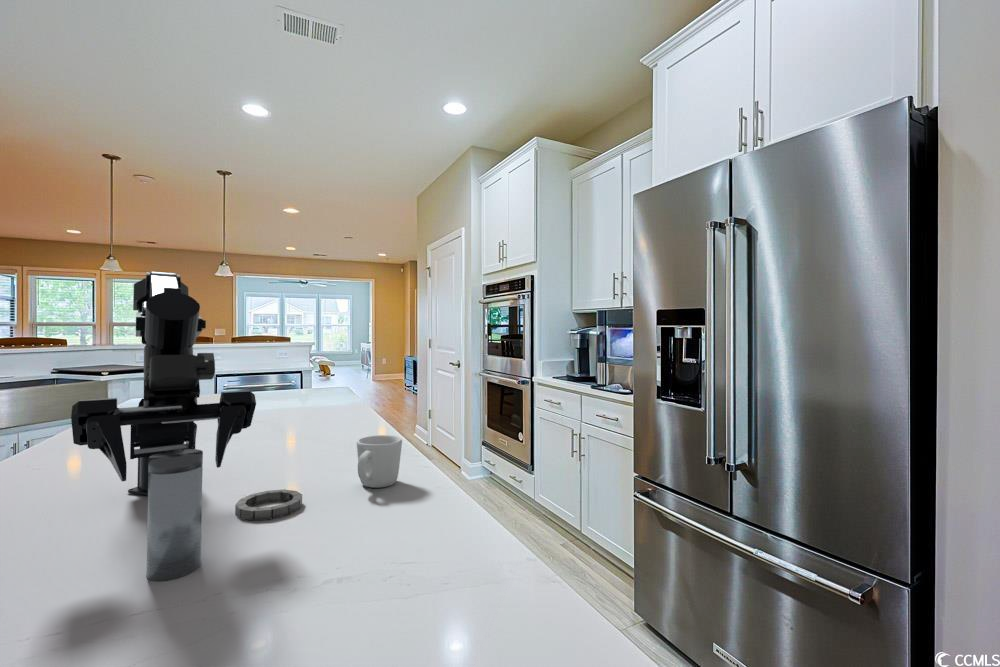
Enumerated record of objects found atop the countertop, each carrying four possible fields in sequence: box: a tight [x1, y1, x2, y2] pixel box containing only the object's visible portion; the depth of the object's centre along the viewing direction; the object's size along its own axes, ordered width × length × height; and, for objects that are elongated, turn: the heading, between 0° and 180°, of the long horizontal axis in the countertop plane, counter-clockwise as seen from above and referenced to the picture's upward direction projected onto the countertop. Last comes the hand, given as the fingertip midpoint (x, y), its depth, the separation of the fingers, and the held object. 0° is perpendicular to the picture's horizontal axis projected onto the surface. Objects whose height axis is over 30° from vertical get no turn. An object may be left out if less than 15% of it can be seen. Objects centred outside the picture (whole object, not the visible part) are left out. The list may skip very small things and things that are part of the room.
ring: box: [234, 489, 303, 522], centre depth 70 cm, size 9×9×1 cm
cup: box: [356, 434, 403, 489], centre depth 81 cm, size 11×8×8 cm
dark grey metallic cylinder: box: [146, 448, 204, 582], centre depth 52 cm, size 5×5×13 cm
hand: (174, 472), depth 54 cm, fingers open, 9 cm apart
